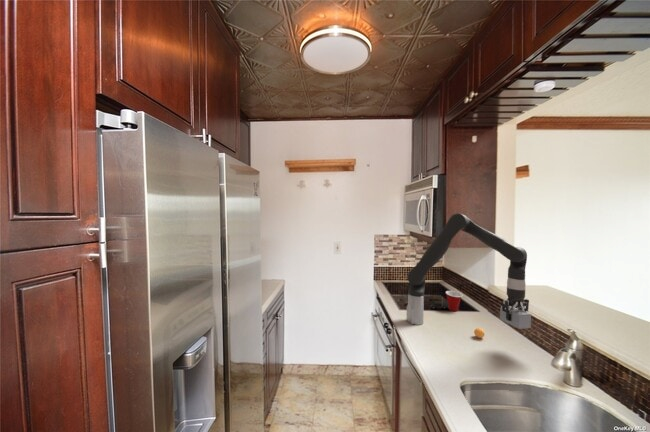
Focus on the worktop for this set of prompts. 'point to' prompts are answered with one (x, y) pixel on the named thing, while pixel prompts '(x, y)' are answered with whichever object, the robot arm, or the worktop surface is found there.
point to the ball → (479, 333)
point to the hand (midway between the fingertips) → (514, 320)
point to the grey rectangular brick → (517, 318)
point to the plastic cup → (453, 300)
